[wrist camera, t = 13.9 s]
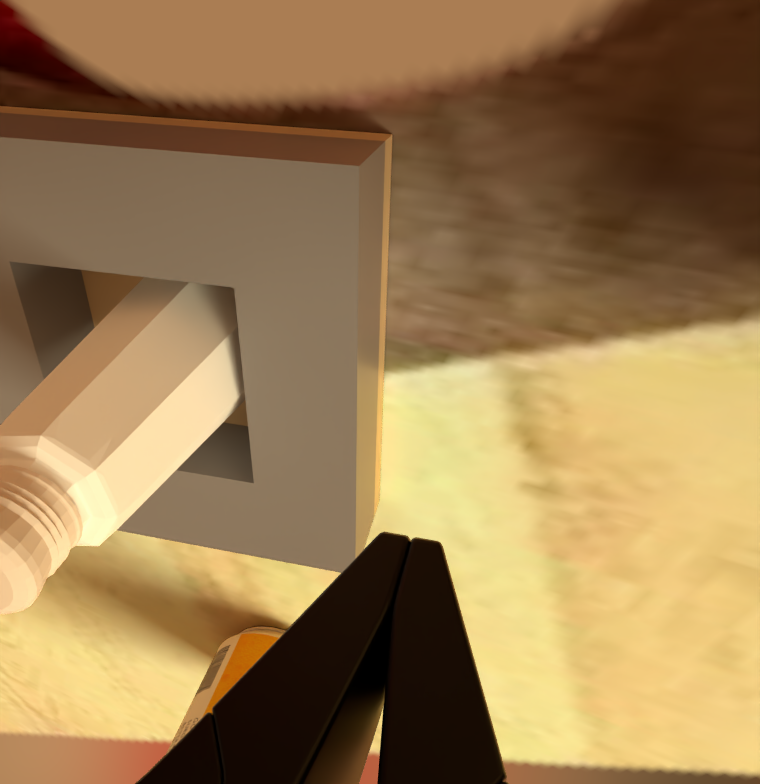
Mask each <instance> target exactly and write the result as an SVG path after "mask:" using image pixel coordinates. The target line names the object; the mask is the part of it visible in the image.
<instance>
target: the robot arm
mask: <svg viewBox="0 0 760 784" xmlns="http://www.w3.org/2000/svg"><path fill="white" fill-rule="evenodd" d="M383 705H384V709H383ZM382 709H383V721H382V734H381V747H380V759H379V773H378V784H509V783H508V782H506V778H507V776H506V772H505V768H504V765H503V761H502V757H501V754H500V750H499V747H498V743H497V739H496V736H495V732H494V729H493V725H492V721H491V718H490V714H489V711H488V707H487V704H486V700H485V696H484V693H483V689H482V686H481V682H480V678H479V675H478V671H477V668H476V664H475V660H474V657H473V653H472V650H471V646H470V643H469V639H468V635H467V632H466V628H465V625H464V621H463V617H462V614H461V610H460V607H459V603H458V600H457V596H456V592H455V589H454V585H453V582H452V578H451V574H450V571H449V567H448V564H447V560H446V556H445V553H444V549H443V546H442V544H441V543H440V542H438V541H434V540H428V539H423V538H417V537H416V538H413V539H412V540H410V538H409V537H408V536H406V535H400V534H394V533H389V532H382V533H380V534H379V535H378V536H377V537H376V538H375V539H374V540H373V541H372V542H371V543H370V544H369V545H368V546H367V547H366V548H365V549H364V550H363V551H362V552H361V553H360V554H359V555H358V556H357V558H356V559H355V560H354V561H353V562H352V563H351V564H350V565H349V566H348V567H347V568H346V569H345V570H344V571H343V572H342V573H341V574H340V575H339V576H338V577H337V578H336V579H335V580H334V581H333V582H332V584H331V585H330V586H329V587H328V588H327V589H326V590H325V591H324V592H323V593H322V594H321V595H320V596H319V597H318V598H317V599H316V600H315V601H314V602H313V603H312V604H311V605H310V606H309V607H308V608H307V609H306V611H305V612H304V613H303V614H302V615H301V616H300V617H299V618H298V619H297V620H296V621H295V622H294V623H293V624H292V625H291V626H290V627H289V628H288V629H287V630H286V631H285V632H284V633H283V634H282V635H281V637H280V638H279V639H278V640H277V641H276V642H275V643H274V644H273V645H272V646H271V647H270V648H269V649H268V650H267V651H266V652H265V653H264V654H263V655H262V656H261V657H260V658H259V659H258V660H257V661H256V663H255V664H254V665H253V666H252V667H251V668H250V669H249V670H248V671H247V672H246V673H245V674H244V675H243V676H242V677H241V678H240V679H239V680H238V681H237V682H236V683H235V684H234V685H233V686H232V687H231V689H230V690H229V691H228V692H227V693H226V694H225V695H224V696H223V697H222V698H221V699H220V700H219V701H218V702H217V703H216V704H215V705H214V706H213V708H212V713H210V712H208V713H206V714H205V715H204V716H203V717H202V718H201V719H200V720H199V721H198V722H197V723H196V725H195V726H194V727H193V728H192V729H191V730H190V731H189V732H188V733H187V734H186V735H185V736H184V737H183V738H182V739H181V740H180V741H179V742H178V743H177V744H176V745H175V746H174V747H173V748H172V749H171V750H170V751H169V752H168V753H167V754H166V755H165V756H164V757H163V758H162V759H161V760H160V761H159V762H158V763H157V764H156V765H155V766H154V767H153V768H152V769H151V770H150V771H149V772H148V773H146V774H145V775H144V776H143V777H142V778H141V779H140V780H139V781H137V782H136V783H135V784H359V782H360V778H361V775H362V772H363V769H364V766H365V763H366V760H367V756H368V753H369V750H370V747H371V744H372V741H373V738H374V734H375V731H376V728H377V725H378V722H379V719H380V716H381V712H382ZM212 714H213V715H212Z"/></svg>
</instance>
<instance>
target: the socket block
mask: <svg viewBox="0 0 760 784" xmlns="http://www.w3.org/2000/svg"><path fill="white" fill-rule="evenodd" d="M391 162H392V134H383V133H369V132H356V131H342V130H328V129H314V128H300V127H286V126H272V125H258V124H245V123H231V122H217V121H203V120H189V119H175V118H161V117H147V116H134V115H120V114H106V113H92V112H78V111H64V110H50V109H36V108H23V107H9V106H0V425H1V424H2V423H3V422H4V421H5V419H6V418H7V417H8V416H9V415H10V414H11V413H12V412H13V411H14V410H15V409H16V408H17V407H18V406H19V405H20V404H21V403H22V402H23V401H24V400H25V399H26V397H27V396H28V395H29V394H30V393H31V392H32V391H33V390H34V389H35V388H36V387H37V386H38V385H39V384H40V383H41V382H42V381H43V380H44V379H45V378H46V377H47V376H48V375H49V374H50V373H51V372H52V371H53V370H54V369H55V368H56V367H57V366H58V365H59V364H60V363H61V362H62V361H63V360H64V359H65V358H66V357H67V356H68V355H69V354H70V353H71V352H72V351H73V350H74V349H75V347H76V346H77V345H78V344H79V343H80V342H81V341H82V340H83V339H84V338H85V337H86V336H87V335H88V334H89V333H90V332H91V331H92V330H93V329H94V328H95V327H96V326H97V325H98V324H99V323H100V322H101V321H102V320H103V319H104V318H105V317H106V316H107V315H108V314H109V313H110V312H111V311H112V310H113V309H114V308H115V307H116V306H117V305H118V304H119V303H120V302H121V301H122V300H123V299H124V297H125V296H126V295H127V294H128V293H129V292H130V291H131V290H132V289H133V288H134V287H135V286H136V285H137V284H138V283H139V282H140V281H141V280H142V279H143V278H144V277H147V278H156V279H164V280H173V281H181V282H190V283H199V284H207V285H216V286H224V287H231V288H232V289H234V292H235V302H236V312H237V322H238V332H239V341H240V351H241V361H242V371H243V381H244V391H245V401H244V402H243V403H242V404H241V405H240V406H239V407H238V408H237V409H236V410H235V411H234V412H233V413H232V414H231V415H230V416H229V417H228V418H227V419H226V420H225V421H224V422H223V423H222V424H221V425H220V426H219V427H218V428H217V429H216V430H215V431H214V432H213V433H212V434H211V435H210V436H209V437H208V438H207V439H206V440H205V441H204V442H203V443H202V444H201V445H200V446H199V447H198V448H197V449H196V450H195V451H194V452H193V453H192V454H191V455H190V457H189V458H188V459H187V460H186V461H185V462H184V463H183V464H182V465H181V466H180V467H179V468H178V469H177V470H176V471H175V472H174V473H173V474H172V475H171V476H170V477H169V478H168V479H167V480H166V481H165V482H164V483H163V484H162V485H161V486H160V487H159V488H158V489H157V490H156V491H155V492H154V493H153V494H152V495H151V496H150V497H149V498H148V499H147V500H146V501H145V502H144V503H143V504H142V505H141V506H140V507H139V508H138V509H137V510H136V511H135V512H134V513H133V514H132V515H131V516H130V517H129V518H128V519H127V520H126V521H125V522H124V523H123V524H122V525H121V526H120V527H119V528H118V529H117V530H119V531H124V532H129V533H134V534H140V535H145V536H150V537H156V538H161V539H166V540H171V541H177V542H182V543H187V544H193V545H198V546H203V547H208V548H214V549H219V550H224V551H230V552H235V553H240V554H245V555H251V556H256V557H261V558H267V559H272V560H277V561H282V562H288V563H293V564H298V565H304V566H309V567H314V568H319V569H325V570H330V571H335V572H341V573H342V572H343V571H344V570H345V569H346V568H347V567H348V566H349V565H350V564H351V563H352V562H353V561H354V560H355V559H356V558H357V556H358V555H359V554H360V553H361V552H362V551H363V550H364V547H365V544H366V541H367V537H368V534H369V531H370V528H371V525H372V522H373V519H374V516H375V513H376V510H377V506H378V503H379V498H380V470H381V442H382V414H383V386H384V358H385V330H386V302H387V274H388V246H389V218H390V190H391Z"/></svg>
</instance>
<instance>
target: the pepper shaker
mask: <svg viewBox="0 0 760 784" xmlns="http://www.w3.org/2000/svg"><path fill="white" fill-rule="evenodd" d="M244 401H245V391H244V381H243V371H242V361H241V351H240V341H239V332H238V322H237V312H236V302H235V292H234V289H232V288H231V287H224V286H216V285H207V284H199V283H190V282H181V281H173V280H164V279H156V278H147V277H144V278H143V279H142V280H141V281H140V282H139V283H138V284H137V285H136V286H135V287H134V288H133V289H132V290H131V291H130V292H129V293H128V294H127V295H126V296H125V297H124V299H123V300H122V301H121V302H120V303H119V304H118V305H117V306H116V307H115V308H114V309H113V310H112V311H111V312H110V313H109V314H108V315H107V316H106V317H105V318H104V319H103V320H102V321H101V322H100V323H99V324H98V325H97V326H96V327H95V328H94V329H93V330H92V331H91V332H90V333H89V334H88V335H87V336H86V337H85V338H84V339H83V340H82V341H81V342H80V343H79V344H78V345H77V346H76V347H75V349H74V350H73V351H72V352H71V353H70V354H69V355H68V356H67V357H66V358H65V359H64V360H63V361H62V362H61V363H60V364H59V365H58V366H57V367H56V368H55V369H54V370H53V371H52V372H51V373H50V374H49V375H48V376H47V377H46V378H45V379H44V380H43V381H42V382H41V383H40V384H39V385H38V386H37V387H36V388H35V389H34V390H33V391H32V392H31V393H30V394H29V395H28V396H27V397H26V399H25V400H24V401H23V402H22V403H21V404H20V405H19V406H18V407H17V408H16V409H15V410H14V411H13V412H12V413H11V414H10V415H9V416H8V417H7V418H6V419H5V421H4V422H3V423H2V424H1V425H0V614H9V613H15V612H19V611H23V610H25V609H26V608H28V607H30V606H31V605H32V604H33V603H34V601H35V600H36V599H37V597H38V595H39V594H40V592H41V590H42V588H43V586H44V584H45V581H46V579H47V578H48V577H50V576H51V575H53V574H54V573H55V571H56V570H57V568H59V567H60V565H61V564H62V562H63V561H65V559H66V558H67V556H68V554H69V551H70V549H71V548H73V547H74V546H75V545H76V546H99V545H101V544H102V543H103V542H104V541H105V540H106V539H107V538H108V537H109V536H111V535H112V534H113V533H114V532H115V531H116V530H117V529H118V528H119V527H120V526H121V525H122V524H123V523H124V522H125V521H126V520H127V519H128V518H129V517H130V516H131V515H132V514H133V513H134V512H135V511H136V510H137V509H138V508H139V507H140V506H141V505H142V504H143V503H144V502H145V501H146V500H147V499H148V498H149V497H150V496H151V495H152V494H153V493H154V492H155V491H156V490H157V489H158V488H159V487H160V486H161V485H162V484H163V483H164V482H165V481H166V480H167V479H168V478H169V477H170V476H171V475H172V474H173V473H174V472H175V471H176V470H177V469H178V468H179V467H180V466H181V465H182V464H183V463H184V462H185V461H186V460H187V459H188V458H189V457H190V455H191V454H192V453H193V452H194V451H195V450H196V449H197V448H198V447H199V446H200V445H201V444H202V443H203V442H204V441H205V440H206V439H207V438H208V437H209V436H210V435H211V434H212V433H213V432H214V431H215V430H216V429H217V428H218V427H219V426H220V425H221V424H222V423H223V422H224V421H225V420H226V419H227V418H228V417H229V416H230V415H231V414H232V413H233V412H234V411H235V410H236V409H237V408H238V407H239V406H240V405H241V404H242V403H243V402H244Z"/></svg>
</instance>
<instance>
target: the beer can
mask: <svg viewBox="0 0 760 784" xmlns="http://www.w3.org/2000/svg"><path fill="white" fill-rule="evenodd" d="M284 632H285V630H282V629H278V628H273V627H264V626H263V627H252V628H248V629H246V630H244V631H242V632H240V633H239V634H238V635H235V636H232V637H230V638H228V639H226V640H225V641H224V642H223V643H222V644H221V645H220V647H219V648H218V650H217V652H216V654H215V656H214V658H213V661H212V663H211V665H210V667H209V669H208V671H207V673H206V675H205V677H204V679H203V681H202V683H201V685H200V687H199V689H198V691H197V693H196V695H195V697H194V699H193V701H192V703H191V705H190V707H189V709H188V711H187V713H186V715H185V717H184V719H183V721H182V723H181V725H180V727H179V729H178V731H177V733H176V735H175V737H174V739H173V741H172V743H171V745H170V748H169V750H168V752H169V751H170V750H171V749H172V748H173V747H174V746H175V745H176V744H177V743H178V742H179V741H180V740H181V739H182V738H183V737H184V736H185V735H186V734H187V733H188V732H189V731H190V730H191V729H192V728H193V727H194V726H195V725H196V723H197V722H198V721H199V720H200V719H201V718H202V717H203V716H204V715H205V714H206V713H208V712H210V713H212V708H213V706H214V705H215V704H216V703H217V702H218V701H219V700H220V699H221V698H222V697H223V696H224V695H225V694H226V693H227V692H228V691H229V690H230V689H231V687H232V686H233V685H234V684H235V683H236V682H237V681H238V680H239V679H240V678H241V677H242V676H243V675H244V674H245V673H246V672H247V671H248V670H249V669H250V668H251V667H252V666H253V665H254V664H255V663H256V661H257V660H258V659H259V658H260V657H261V656H262V655H263V654H264V653H265V652H266V651H267V650H268V649H269V648H270V647H271V646H272V645H273V644H274V643H275V642H276V641H277V640H278V639H279V638H280V637H281V635H282V634H283V633H284ZM212 715H213V714H212ZM168 752H167V753H168Z"/></svg>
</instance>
